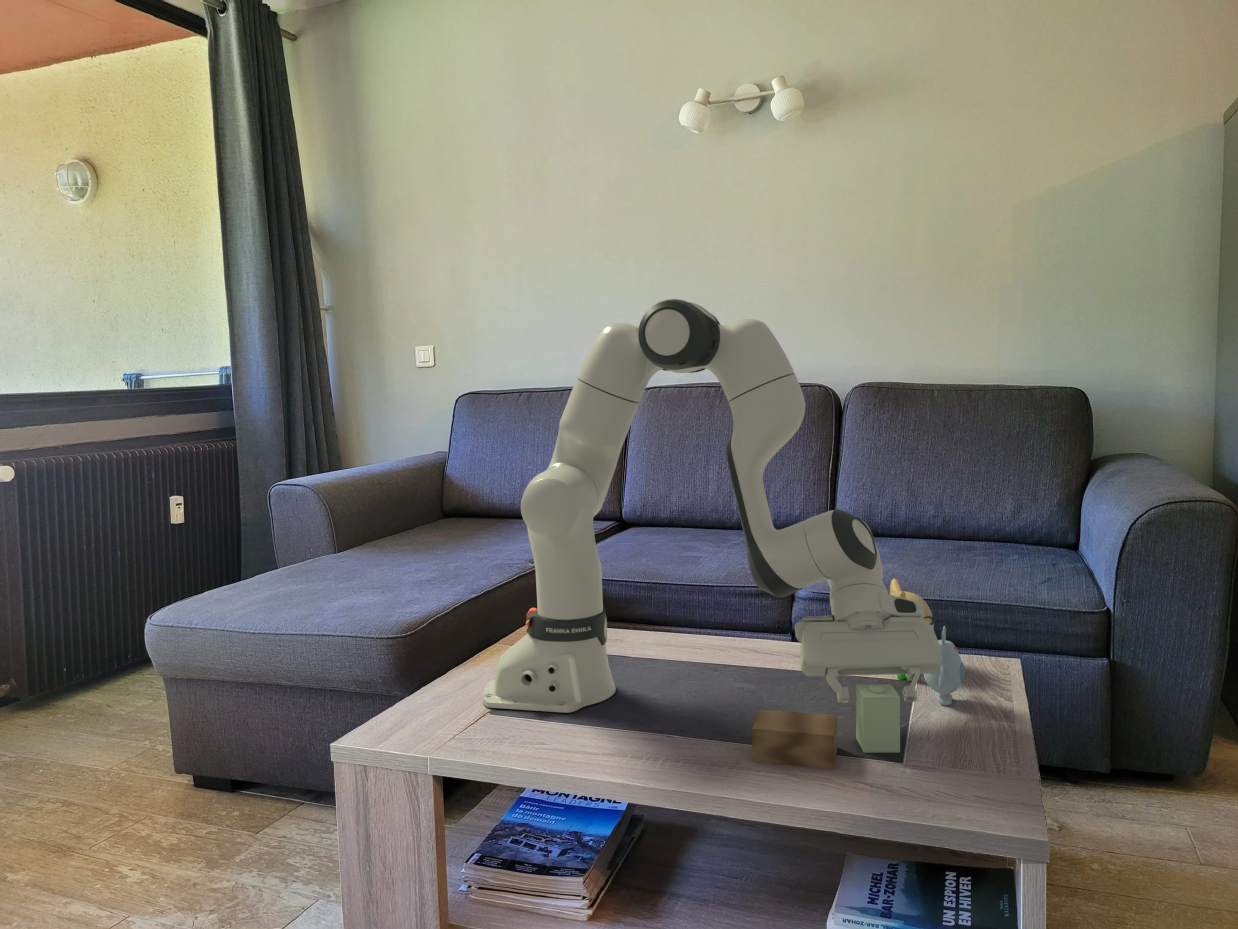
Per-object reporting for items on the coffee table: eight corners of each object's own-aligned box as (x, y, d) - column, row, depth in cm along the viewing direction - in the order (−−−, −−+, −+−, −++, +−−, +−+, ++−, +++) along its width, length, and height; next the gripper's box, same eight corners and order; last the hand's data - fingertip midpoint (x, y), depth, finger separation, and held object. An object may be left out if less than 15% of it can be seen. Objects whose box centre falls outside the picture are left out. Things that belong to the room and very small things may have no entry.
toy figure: (963, 716, 135) (963, 639, 133) (920, 711, 137) (920, 636, 136) (966, 692, 144) (966, 620, 143) (926, 688, 147) (926, 617, 145)
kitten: (942, 683, 148) (942, 596, 147) (880, 682, 150) (880, 596, 149) (927, 655, 163) (927, 575, 161) (871, 654, 165) (870, 575, 163)
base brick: (752, 763, 122) (751, 728, 121) (759, 742, 128) (759, 709, 128) (834, 771, 118) (833, 735, 118) (837, 749, 125) (837, 715, 125)
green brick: (863, 752, 123) (863, 694, 122) (856, 737, 128) (855, 681, 127) (900, 752, 123) (900, 693, 122) (891, 737, 128) (891, 680, 127)
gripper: (794, 606, 133) (806, 692, 124) (933, 603, 132) (954, 690, 123) (791, 626, 138) (801, 711, 129) (924, 623, 137) (944, 708, 128)
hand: (877, 700), depth 126 cm, fingers open, 8 cm apart
